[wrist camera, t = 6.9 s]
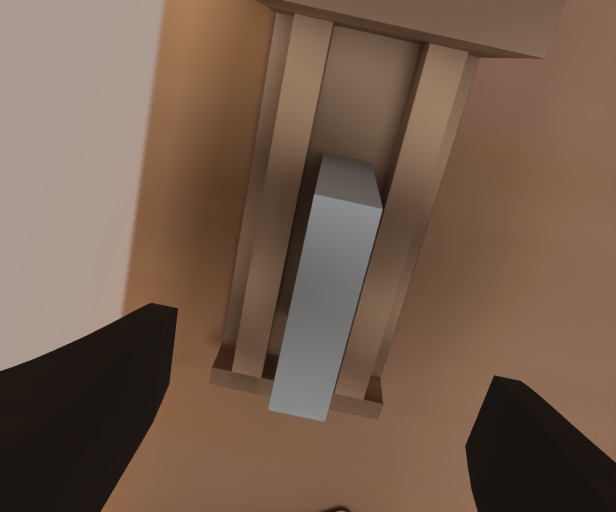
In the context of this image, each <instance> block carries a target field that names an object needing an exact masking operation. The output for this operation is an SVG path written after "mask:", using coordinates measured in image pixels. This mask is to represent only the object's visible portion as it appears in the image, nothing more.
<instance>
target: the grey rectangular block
mask: <svg viewBox="0 0 616 512" xmlns="http://www.w3.org/2000/svg"><path fill="white" fill-rule="evenodd" d="M382 210H383V208H382V204H381V199H380V195H379V191H378V187H377V183H376V178H375V174H374V170H373V166H372V163H370V162H366V161H361V160H356V159H352V158H347V157H343V156H338V155H334V154H329V153H324V154H323V159H322V163H321V167H320V172H319V176H318V180H317V185H316V189H315V194H314V198H313V203H312V208H311V212H310V217H309V221H308V226H307V231H306V235H305V240H304V245H303V249H302V254H301V259H300V263H299V268H298V273H297V277H296V282H295V287H294V291H293V296H292V301H291V305H290V310H289V314H288V319H287V324H286V328H285V333H284V338H283V342H282V347H281V352H280V356H279V361H278V366H277V370H276V375H275V380H274V384H273V389H272V394H271V398H270V403H269V407H268V410H270V411H275V412H280V413H285V414H289V415H294V416H299V417H303V418H308V419H313V420H317V421H322V422H325V420H326V416H327V413H328V409H329V405H330V402H331V398H332V394H333V391H334V387H335V383H336V380H337V376H338V372H339V369H340V365H341V361H342V358H343V354H344V350H345V346H346V343H347V339H348V335H349V332H350V328H351V324H352V321H353V317H354V313H355V310H356V306H357V302H358V299H359V295H360V291H361V288H362V284H363V280H364V276H365V273H366V269H367V265H368V262H369V258H370V254H371V251H372V247H373V243H374V240H375V236H376V232H377V229H378V225H379V221H380V218H381V214H382Z"/></svg>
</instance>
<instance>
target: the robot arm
mask: <svg viewBox="0 0 616 512" xmlns="http://www.w3.org/2000/svg"><path fill="white" fill-rule="evenodd" d="M177 313H178V308H173V307H169V306H164V305H159V304H154V303H150V304H148V305H145V306H143V307H141V308H139V309H137V310H135V311H133V312H132V313H130V314H128V315H126V316H124V317H122V318H120V319H118V320H116V321H115V322H113V323H111V324H109V325H107V326H105V327H103V328H101V329H99V330H97V331H95V332H93V333H91V334H89V335H87V336H85V337H83V338H80V339H78V340H76V341H74V342H72V343H69V344H67V345H65V346H63V347H60V348H58V349H56V350H54V351H51V352H49V353H47V354H45V355H42V356H40V357H37V358H35V359H33V360H30V361H27V362H25V363H22V364H19V365H17V366H14V367H11V368H8V369H5V370H3V371H0V512H101V510H102V508H103V507H104V505H105V503H106V501H107V500H108V498H109V496H110V495H111V493H112V491H113V490H114V488H115V486H116V485H117V483H118V481H119V479H120V478H121V476H122V474H123V473H124V471H125V469H126V468H127V466H128V464H129V462H130V461H131V459H132V457H133V456H134V454H135V452H136V451H137V449H138V447H139V445H140V444H141V442H142V440H143V439H144V437H145V435H146V433H147V432H148V430H149V428H150V426H151V425H152V423H153V421H154V419H155V416H156V414H157V412H158V409H159V407H160V405H161V402H162V400H163V398H164V395H165V393H166V390H167V388H168V386H169V382H170V373H171V364H172V356H173V347H174V339H175V330H176V321H177ZM465 447H466V455H467V463H468V470H469V477H470V483H471V489H472V493H473V496H474V500H475V504H476V507H477V511H478V512H616V462H614V461H613V460H612V459H611V458H610V457H608V456H607V455H606V454H605V453H604V452H603V451H601V450H600V449H599V448H598V447H597V446H596V445H595V444H593V443H592V442H591V441H590V440H589V439H588V438H587V437H585V436H584V435H583V434H582V433H581V432H580V431H579V430H578V429H576V428H575V427H574V426H573V425H572V424H571V423H570V422H569V421H568V420H566V419H565V418H564V417H563V416H562V415H561V414H560V413H559V412H557V411H556V410H555V409H554V408H553V407H552V406H551V405H550V404H549V403H547V402H546V401H545V400H544V399H543V398H542V397H540V396H539V395H538V394H537V393H536V392H535V391H533V390H532V389H531V388H530V387H528V386H527V385H526V384H524V383H523V382H521V381H518V380H513V379H509V378H504V377H499V376H495V375H494V377H493V379H492V382H491V384H490V387H489V389H488V392H487V394H486V397H485V399H484V401H483V404H482V406H481V409H480V411H479V414H478V416H477V419H476V421H475V423H474V426H473V428H472V431H471V433H470V436H469V438H468V441H467V443H466V445H465ZM337 512H346V511H337Z"/></svg>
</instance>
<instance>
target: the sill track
mask: <svg viewBox="0 0 616 512" xmlns="http://www.w3.org/2000/svg"><path fill="white" fill-rule="evenodd" d="M257 1H258V2H260V3H262V4H263V5H265V6H267V7H268V8H270V9H272V10H273V11H275V12H276V17H275V23H274V29H273V35H272V41H271V47H270V53H269V60H268V66H267V72H266V78H265V84H264V90H263V96H262V103H261V109H260V115H259V121H258V127H257V133H256V139H255V146H254V152H253V158H252V164H251V170H250V176H249V182H248V189H247V195H246V201H245V207H244V213H243V219H242V225H241V232H240V238H239V244H238V250H237V256H236V262H235V268H234V275H233V281H232V287H231V293H230V299H229V305H228V312H227V318H226V324H225V330H224V336H223V342H222V345H221V348H220V350H219V352H218V355H217V357H216V359H215V362H214V364H213V366H212V371H211V377H210V384H214V385H218V386H223V387H228V388H232V389H237V390H242V391H246V392H251V393H256V394H260V395H265V396H270V397H271V394H272V389H273V384H274V380H275V375H276V370H277V366H278V361H279V356H280V352H281V347H282V342H283V338H284V333H285V328H286V324H287V319H288V314H289V310H290V305H291V301H292V296H293V291H294V287H295V282H296V277H297V273H298V268H299V263H300V259H301V254H302V249H303V245H304V240H305V235H306V231H307V226H308V221H309V217H310V212H311V208H312V203H313V198H314V194H315V189H316V185H317V180H318V176H319V172H320V167H321V163H322V159H323V154H324V153H329V154H334V155H338V156H343V157H347V158H352V159H356V160H361V161H366V162H370V163H372V166H373V170H374V174H375V178H376V183H377V187H378V191H379V195H380V199H381V204H382V208H383V210H382V214H381V218H380V221H379V225H378V229H377V232H376V236H375V240H374V243H373V247H372V251H371V254H370V258H369V262H368V265H367V269H366V273H365V276H364V280H363V284H362V288H361V291H360V295H359V299H358V302H357V306H356V310H355V313H354V317H353V321H352V324H351V328H350V332H349V335H348V339H347V343H346V346H345V350H344V354H343V358H342V361H341V365H340V369H339V372H338V376H337V380H336V383H335V387H334V391H333V394H332V398H331V402H330V405H329V409H331V410H335V411H340V412H345V413H349V414H354V415H359V416H363V417H368V418H373V419H377V420H378V418H379V415H380V412H381V409H382V405H383V400H382V390H381V381H380V376H381V373H382V370H383V367H384V364H385V360H386V357H387V354H388V351H389V348H390V344H391V341H392V338H393V335H394V331H395V328H396V325H397V322H398V319H399V315H400V312H401V309H402V306H403V303H404V299H405V296H406V293H407V290H408V286H409V283H410V280H411V277H412V274H413V270H414V267H415V264H416V261H417V258H418V254H419V251H420V248H421V245H422V242H423V238H424V235H425V232H426V229H427V225H428V222H429V219H430V216H431V213H432V209H433V206H434V203H435V200H436V197H437V193H438V190H439V187H440V184H441V180H442V177H443V174H444V171H445V168H446V164H447V161H448V158H449V155H450V152H451V148H452V145H453V142H454V139H455V136H456V132H457V129H458V126H459V123H460V119H461V116H462V113H463V110H464V107H465V103H466V100H467V97H468V94H469V91H470V87H471V84H472V81H473V78H474V74H475V71H476V68H477V65H478V62H479V58H480V57H483V58H534V59H545V56H546V54H547V51H548V48H549V45H550V42H551V40H552V37H553V34H554V31H555V28H556V26H557V23H558V20H559V17H560V14H561V12H562V9H563V6H564V3H565V1H566V0H257Z"/></svg>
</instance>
